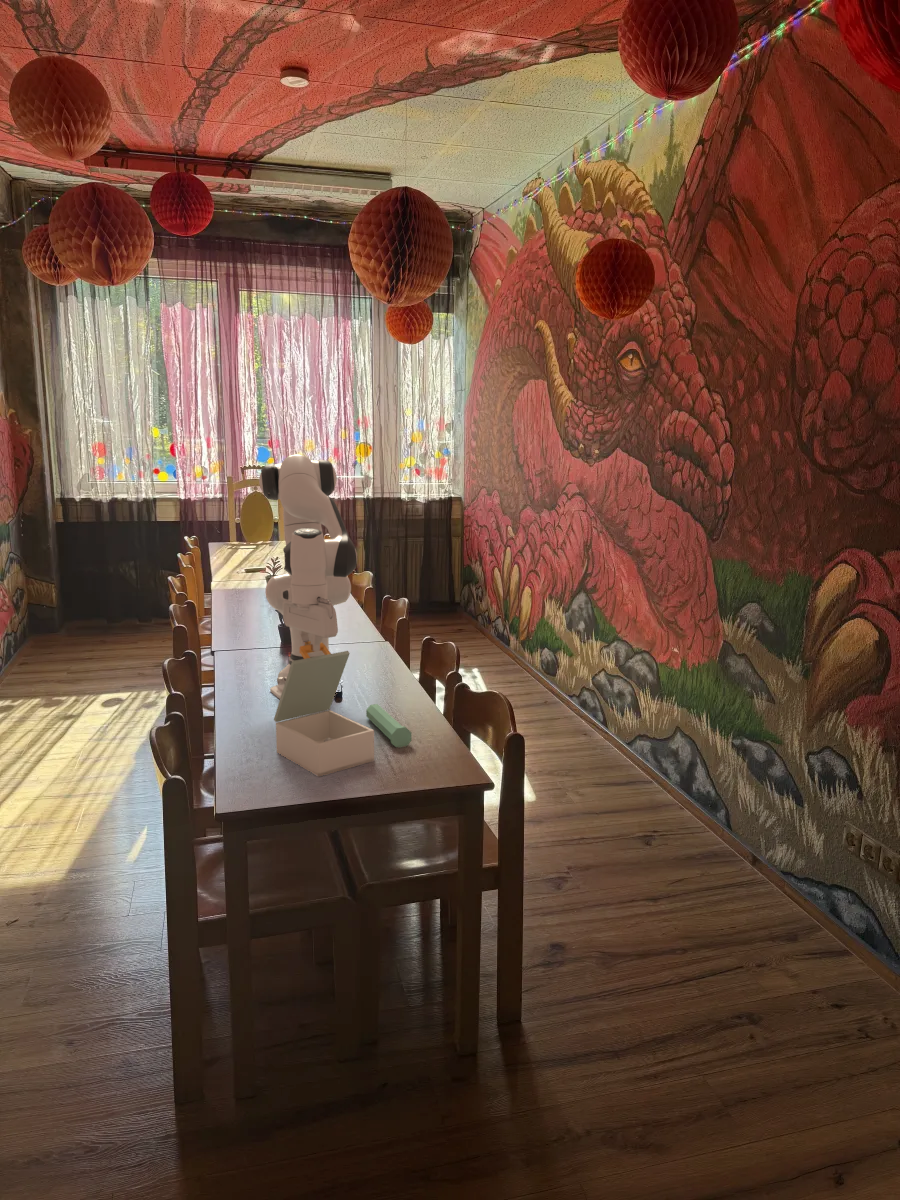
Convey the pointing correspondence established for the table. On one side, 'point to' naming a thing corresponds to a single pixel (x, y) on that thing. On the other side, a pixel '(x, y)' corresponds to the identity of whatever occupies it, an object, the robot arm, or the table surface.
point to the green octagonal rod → (389, 726)
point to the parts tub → (325, 742)
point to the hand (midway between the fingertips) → (310, 649)
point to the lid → (311, 683)
